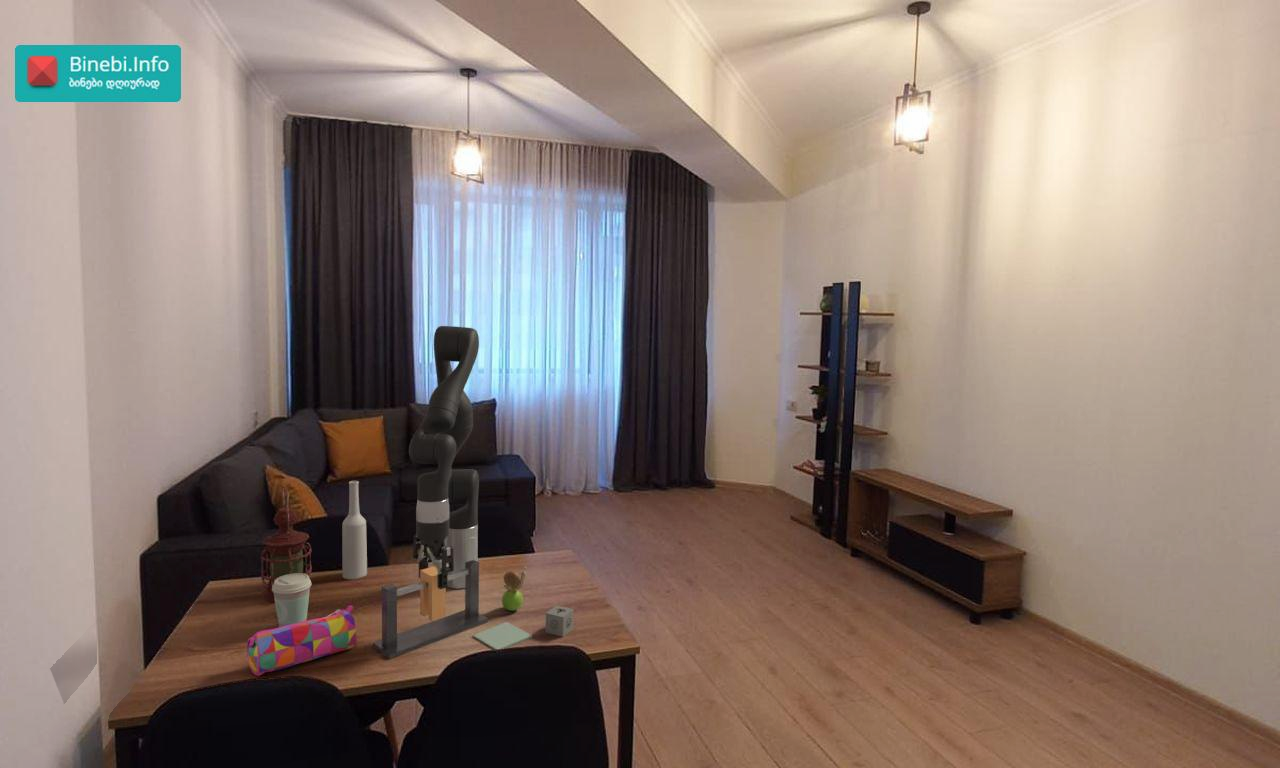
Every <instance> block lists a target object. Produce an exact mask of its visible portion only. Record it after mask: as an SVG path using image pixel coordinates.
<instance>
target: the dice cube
mask: <svg viewBox="0 0 1280 768" xmlns="http://www.w3.org/2000/svg"><path fill="white" fill-rule="evenodd" d="M574 613H575V609H573V608H569V607H565V606H561V605H554V606H553V607H552V608H551V609H549V610H548V611H546V613H545V633H547V634H550V635H555V636H558V637H563V638H564V637H565V636H566V635H567V634H569V633H570V632H571V631H572V630H574V625H575V624H574V621H575V618H574V617H575V614H574Z"/></svg>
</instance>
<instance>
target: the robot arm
mask: <svg viewBox="0 0 1280 768" xmlns="http://www.w3.org/2000/svg"><path fill="white" fill-rule="evenodd" d="M433 335H434V336H433V355H434V363H435V372H436V380H437V381H436V383H437V386H436V388H434V390H433V392H432V393H431V395H430V398H429V401H428V406H427V409H426V413H425V416H424V418H423V420H422V422H421V423H420V425H419V427H418V428H417V430H416V431H415V433H414V434H413V435H412V437H411V440H410V443H409V447H408V454H409V457H410V459H411V460H412V462H414V463H415V464H424V465H426V464H427V465H428V464H429V465H438V467H437V470H435V471H429V472H425V473H422V474H420V475H419V476H418V478H417V483H416V485H417V488H416V489H417V491H416V493H417V498H416V499H417V502H416V510H415V513H416V514H415V515H416V518H415V519H416V520H415V521H416V524H415V526H416V528H415V530H416V532H415V534H414V535H413V540H412V543H413V544H412V546H413V547H412V558H413V559H414V560H416V563H417V564H418V578H419V579H420V570H423V569H426V568H429V560H430V561H431V562H432V565H433V566H434V567H436V568H437V571H438V588H439V589H443V588H446V589H447V588H450V589H459V590H460V589H465V576H462V577H459V578H455V579H452V580H449V581H448V574H449V573H452V572H456V571H459V570H462V569H465V562H468V561H471V560H475V561H477V562H478V555H479V554H478V551H479V550H478V546H479V545H478V543H479V541H478V538H479V537H478V536H479V534H478V531H479V530H478V529H479V526H478V525H479V521H478V518H479V517H478V513H479V512H478V510H479V509H478V504H479V503H478V502H479V491H480V490H479V489H480V475H479V473H478V471H477V470H476V469H473V468H472V469H471V468H469V469H468V468H467V469H466V468H465V469H464V468H462V469H461V468H460V469H458V468H456V469H453V468H452V466H453V463H454V460H455V458H456V456H457V454H459V451H460V450H461V448H462V447H463V445H464V444H465V443H466V441H467V440H468V439H469V437H470V435H471V433H472V431H473V428H474V409H473V408H474V407H473V405H472V402H471V400H470V398H469V396H468V395H467V394H466V392H465V391H464V389H465V387H466V384H467V382H468V380H469V378H470V375H471V372H472V370H473V368H474V365H475V362H476V360H477V357H478V353H479V348H480V336H479V334H478V331H477V330H476V329H475V328H473V327H466V326H453V325H452V326H450V325H440V326H438V327H437V328H435V332H434V334H433ZM451 362H456V363H457V362H458V363H457V365H456V367H455V369H453V368H452V365H451V364H452V363H451ZM450 503H465V505H463V506H462V507H460V508H458V509H456V510H454V511H450ZM418 550H419V551H418Z"/></svg>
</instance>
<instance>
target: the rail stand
mask: <svg viewBox="0 0 1280 768" xmlns="http://www.w3.org/2000/svg"><path fill="white" fill-rule="evenodd" d="M462 576H465V588H464V599H465V600H464V601H465V602H464V610H461V611H459V612H454V613H453V614H450V615H446V617H443V618H441V619H438V620H435V621H430V622H427V623H424V624H421V625H418V626H416V627H412V628H410V629H406V630H404V631H401V632H398V597H399V596H403V595H406V594H410V593H413V592H416V591H420V589H423V588H426V587H428V582H426V581H422V582H420V581H419V582H416V583H413V584H409V585H406V586H402V587H400V588H398V587H397V586H396V585H395V584H393V583H390V584H387V585H386V584H385V585H382V586H381V639H379V640H376V641H373V642H372V647H373V648H374V649H376V650H377V651H378V652H380V653H381V654H383V655H384V656H385V657H386V658H388V659H389V660H392V659H393V658H396V657H399V656H402V655H404V654H407V653H409V652H412V651H415V650H418V649H420V648H423V647H425V646H428V645H431V644H433V643H436V642H439V641H441V640H445V639H448V638H449V637H452V636H454V635H457V634H459V633H463V632H465V631H467V630H470V629H474V628H475V627H478V626H480V625H484V624H486V623H488V622H489V621H488V620H489V619H488V617H486V616H485V615H482V614H480V613H479V611H480V609H479V606H480V605H479V602H480V601H479V599H480V596H479V595H480V594H479V593H480V589H479V588H480V562H479V561H478V560H477V561H475V560H471V561H468V562H465V569H462V570H459V571H456V572H452V573H449V574H448V581H449V580H452V579H455V578H459V577H462Z"/></svg>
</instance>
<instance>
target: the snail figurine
mask: <svg viewBox="0 0 1280 768" xmlns="http://www.w3.org/2000/svg"><path fill="white" fill-rule="evenodd" d="M526 571H527V566H524V567H523V570H522V571H520V575H519V573H517V572H515V571H512V570H511V571H507V572H506V573H505V574H504V576H503V582H504V584H503V588H505V589H506V591H505V592H504V594H502V597H501V604H502V606H503V608H504V609H506V610H507V611H509V612H510V611H517V610H518V609H519V608H520V607H522V604H523V601H524V597H523V594H522V592H521V591H519V590H520V589H522V588H523V585H525V584H524V583H525V580H526V576H527V572H526Z"/></svg>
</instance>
